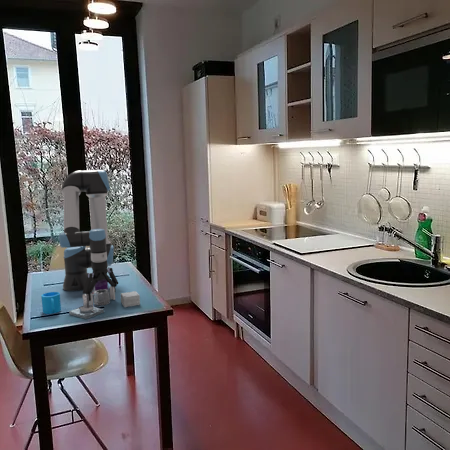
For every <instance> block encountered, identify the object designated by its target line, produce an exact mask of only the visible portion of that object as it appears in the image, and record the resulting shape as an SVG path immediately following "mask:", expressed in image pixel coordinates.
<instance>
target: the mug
mask: <svg viewBox="0 0 450 450" xmlns="http://www.w3.org/2000/svg"><path fill="white" fill-rule="evenodd" d="M40 296H41V305H42V306H41V308H42V313H43V314H46V315H51V314H53V315H54V314H57V313H60V312H61V311H62V304H61V303H62V302H61V292H58V291H48V292H45V293H43V294H41V295H40Z"/></svg>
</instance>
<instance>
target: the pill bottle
mask: <svg viewBox="0 0 450 450" xmlns="http://www.w3.org/2000/svg"><path fill="white" fill-rule="evenodd" d="M92 278H93V277H92ZM100 289H107V290H109V283H108V282H107V281H106V280H105V279H101V280H98V282H97V283H96V285H95V287H94V289H93V290H92V292H91V294H93V296H94V291H96V290H100Z"/></svg>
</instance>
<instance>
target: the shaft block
mask: <svg viewBox="0 0 450 450" xmlns="http://www.w3.org/2000/svg"><path fill="white" fill-rule="evenodd" d="M82 304H83V305H81V306H80V307H78V308H76V309H73V310H69V311H68V312H69V313H68V314H69V315H70V316H74V317H78V318H81V319H84V320H88V319H91V318H93V317H96V316H99V315H101V313H102V314H104V313H105V309H103V308H100V307H96V306H95V307H94V305H93V306H92V305H89V295H88V294H84V293H82Z"/></svg>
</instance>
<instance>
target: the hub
mask: <svg viewBox="0 0 450 450" xmlns="http://www.w3.org/2000/svg"><path fill="white" fill-rule="evenodd" d="M110 303H111V299H110V289H108V290H107V289H100V290H96V291H94V295H93V306H106V305H109V304H110Z"/></svg>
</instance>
